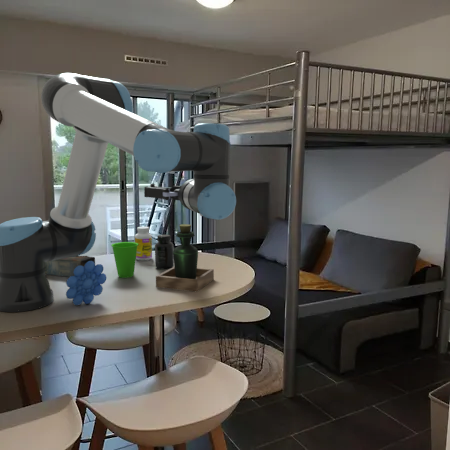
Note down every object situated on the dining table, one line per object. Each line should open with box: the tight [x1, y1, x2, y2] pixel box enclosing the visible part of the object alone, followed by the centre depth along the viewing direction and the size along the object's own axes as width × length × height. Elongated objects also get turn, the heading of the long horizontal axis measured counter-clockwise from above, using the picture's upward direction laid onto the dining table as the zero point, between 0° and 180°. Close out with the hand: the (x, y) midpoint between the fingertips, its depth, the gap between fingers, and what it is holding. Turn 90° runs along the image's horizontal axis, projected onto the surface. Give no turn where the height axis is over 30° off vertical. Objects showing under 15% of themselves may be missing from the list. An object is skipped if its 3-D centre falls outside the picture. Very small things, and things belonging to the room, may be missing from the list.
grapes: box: [65, 261, 107, 306], centre depth 119 cm, size 12×7×12 cm, turn 132°
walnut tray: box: [155, 267, 215, 293], centre depth 139 cm, size 14×14×4 cm
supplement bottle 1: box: [134, 226, 153, 262], centre depth 171 cm, size 7×7×13 cm
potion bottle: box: [173, 223, 199, 279], centre depth 137 cm, size 8×8×18 cm
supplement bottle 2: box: [154, 234, 175, 270], centre depth 158 cm, size 7×7×12 cm
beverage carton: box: [45, 255, 96, 278], centre depth 150 cm, size 8×19×7 cm, turn 71°
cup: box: [110, 241, 139, 279], centre depth 147 cm, size 9×9×11 cm
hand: (175, 188), depth 120 cm, fingers open, 13 cm apart
